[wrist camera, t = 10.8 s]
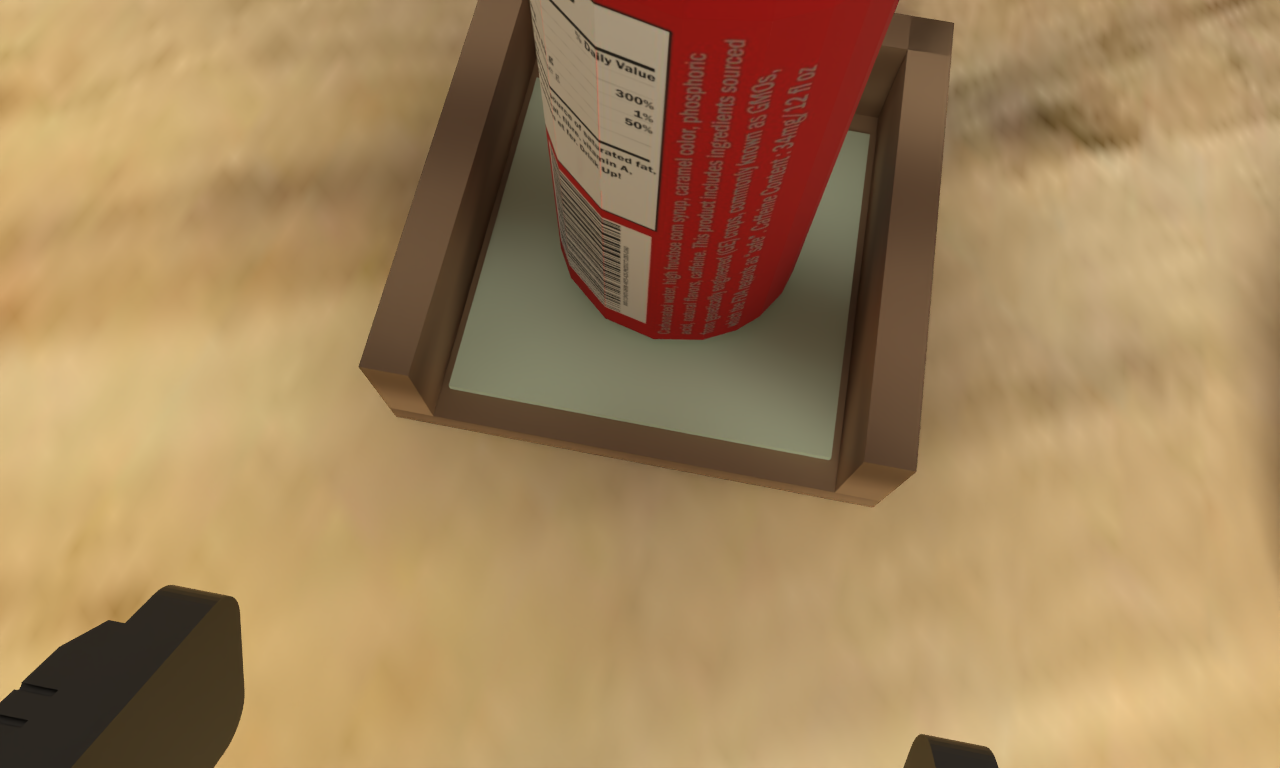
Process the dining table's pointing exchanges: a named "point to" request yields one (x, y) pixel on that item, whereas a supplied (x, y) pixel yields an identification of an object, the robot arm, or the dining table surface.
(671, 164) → the soda can
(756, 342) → the caddy
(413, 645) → the dining table surface
